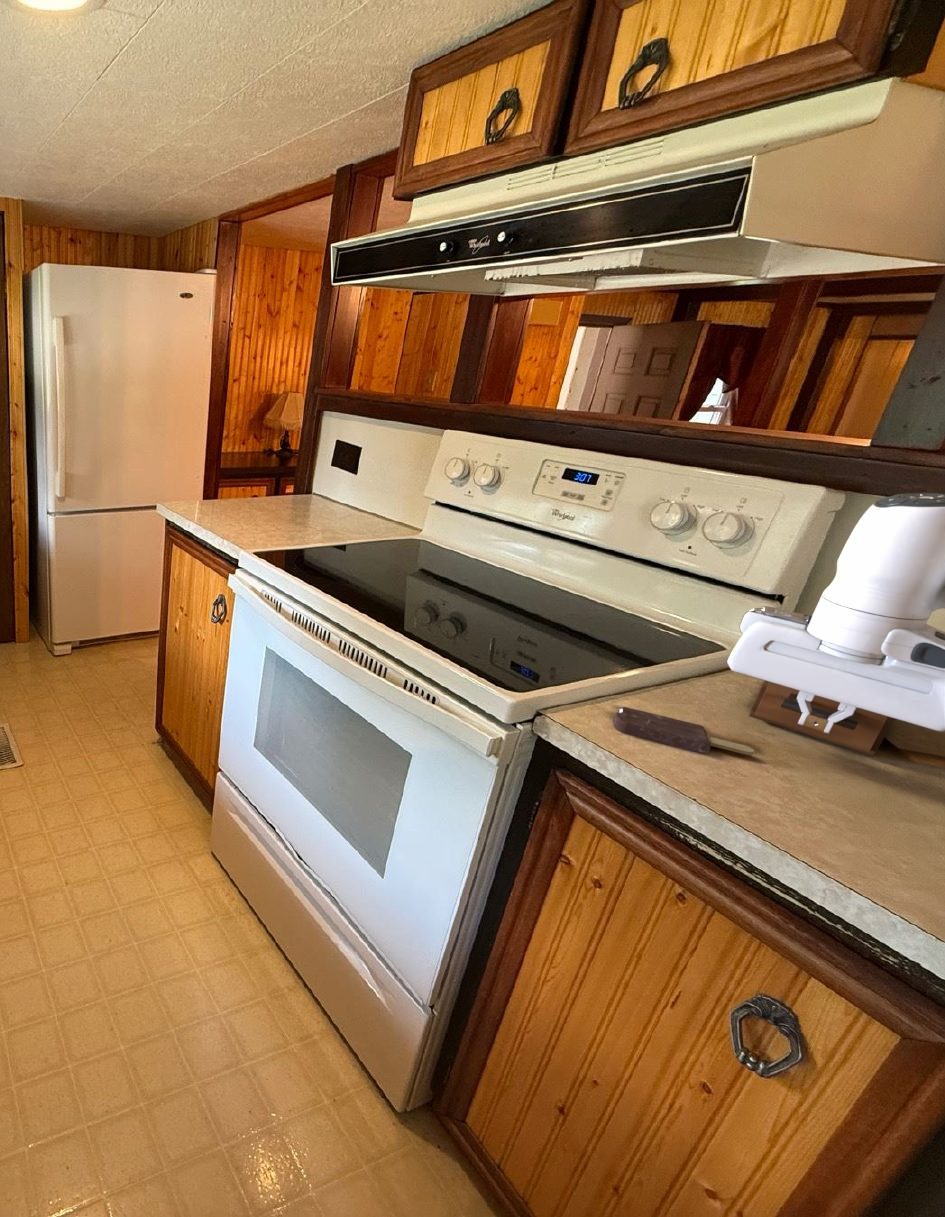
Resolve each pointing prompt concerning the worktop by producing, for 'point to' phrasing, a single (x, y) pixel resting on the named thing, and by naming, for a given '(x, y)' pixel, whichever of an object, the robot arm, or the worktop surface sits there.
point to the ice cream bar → (671, 731)
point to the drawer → (850, 731)
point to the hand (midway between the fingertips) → (813, 727)
